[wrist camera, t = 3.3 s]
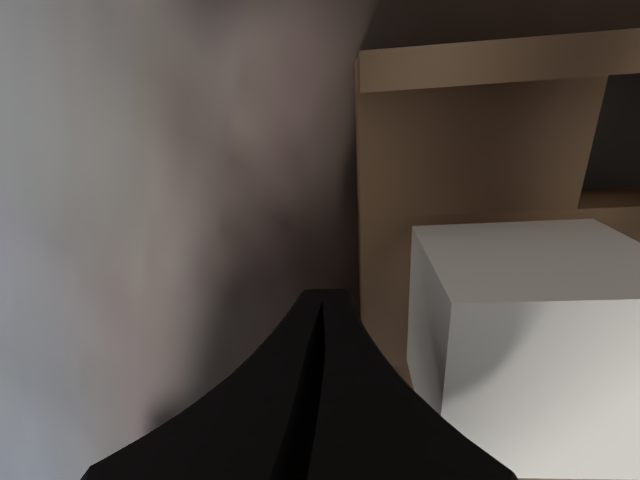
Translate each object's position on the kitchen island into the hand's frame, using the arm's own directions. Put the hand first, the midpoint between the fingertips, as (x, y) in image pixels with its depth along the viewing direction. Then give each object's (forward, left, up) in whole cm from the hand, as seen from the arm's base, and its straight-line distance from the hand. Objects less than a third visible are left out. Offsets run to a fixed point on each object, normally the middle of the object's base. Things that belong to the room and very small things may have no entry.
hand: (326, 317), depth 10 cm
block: (+5, 0, -1) cm, 5 cm away
